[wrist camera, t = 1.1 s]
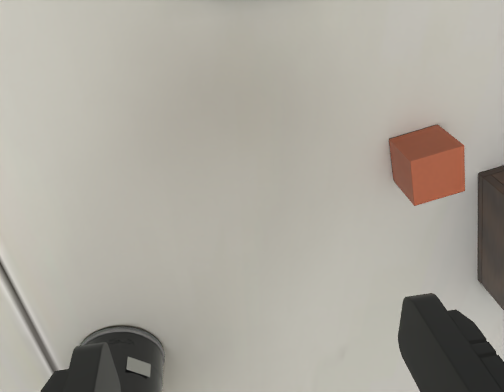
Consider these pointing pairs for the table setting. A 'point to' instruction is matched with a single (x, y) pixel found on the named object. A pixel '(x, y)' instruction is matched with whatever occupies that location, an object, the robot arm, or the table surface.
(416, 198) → the block
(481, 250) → the box
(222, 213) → the table surface
